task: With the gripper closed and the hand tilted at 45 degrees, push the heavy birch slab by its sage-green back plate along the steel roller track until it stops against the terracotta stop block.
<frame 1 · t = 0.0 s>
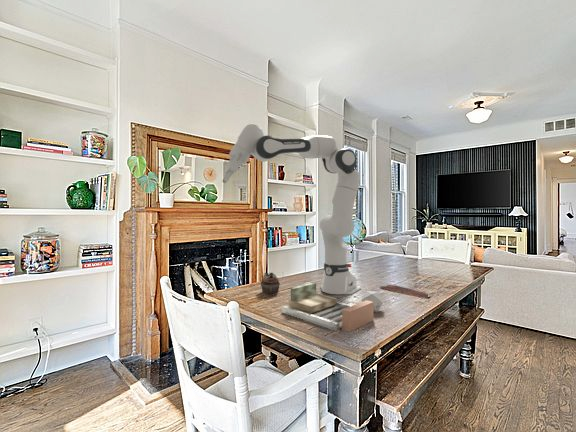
hand: (224, 181, 144), 54 cm above the table, tool tilted 30°, fingers open, 8 cm apart
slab: (312, 296, 130), point 6 cm above the table, slide at 0.0 cm
wooden tablet: (406, 293, 161), on the table
stop block: (358, 324, 115), on the table
roller track: (326, 314, 125), on the table
cupcake: (270, 293, 158), on the table
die: (372, 310, 131), on the table
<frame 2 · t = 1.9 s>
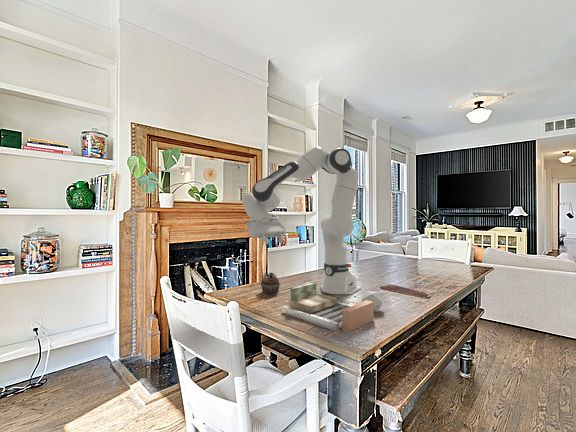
hand: (275, 242, 146), 26 cm above the table, tool tilted 45°, fingers open, 7 cm apart
nothing on the table moved.
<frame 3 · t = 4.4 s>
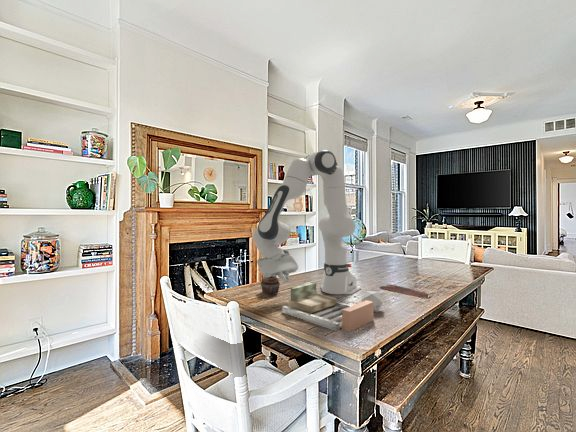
hand: (287, 281, 140), 10 cm above the table, tool tilted 45°, fingers closed
nothing on the table moved.
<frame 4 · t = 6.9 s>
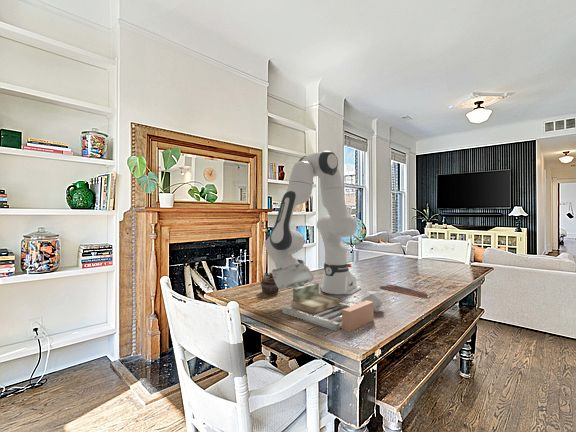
hand: (303, 292, 134), 6 cm above the table, tool tilted 45°, fingers closed, pressing on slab
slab: (315, 297, 129), point 6 cm above the table, slide at 1.4 cm, touching gripper
everything else where it was.
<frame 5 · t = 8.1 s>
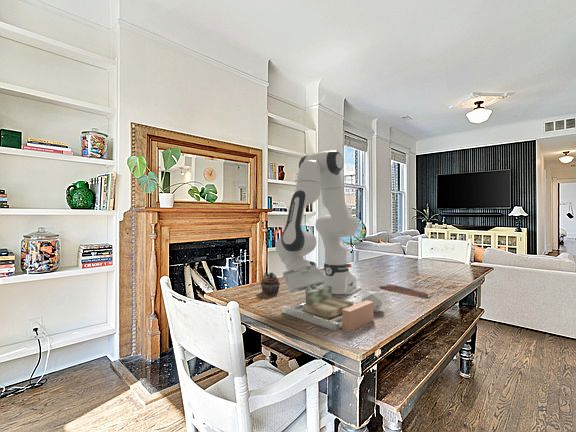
hand: (315, 296, 129), 6 cm above the table, tool tilted 45°, fingers closed, pressing on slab
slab: (329, 300, 124), point 6 cm above the table, slide at 8.3 cm, touching gripper
everything else where it was.
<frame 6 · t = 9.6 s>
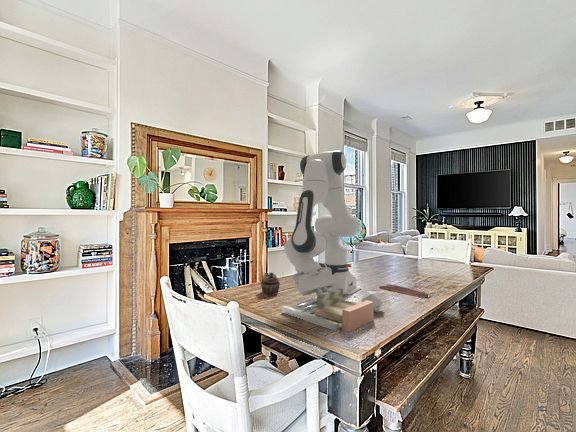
hand: (326, 299, 125), 6 cm above the table, tool tilted 45°, fingers closed, pressing on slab
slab: (340, 303, 120), point 6 cm above the table, slide at 14.0 cm, touching gripper
everything else where it was.
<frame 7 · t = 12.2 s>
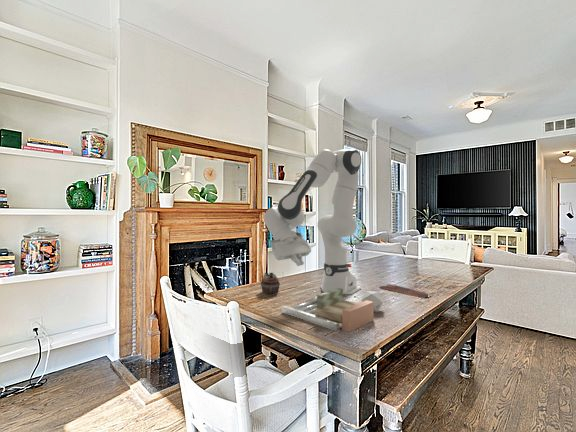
hand: (300, 264, 135), 18 cm above the table, tool tilted 40°, fingers closed
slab: (340, 303, 120), point 6 cm above the table, slide at 14.0 cm
everything else where it was.
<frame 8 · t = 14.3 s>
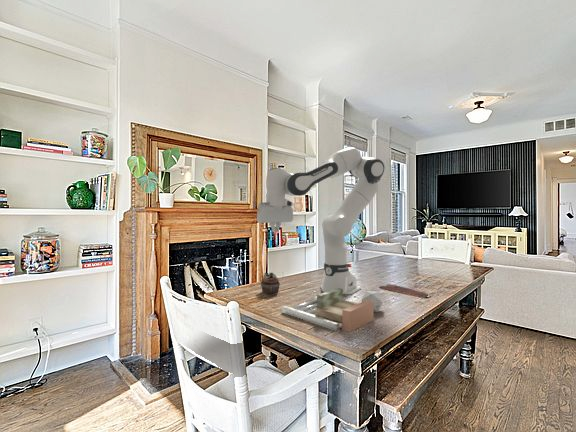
hand: (275, 232, 147), 31 cm above the table, tool pointing down, fingers closed
nothing on the table moved.
at the end: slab slide at 14.0 cm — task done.
